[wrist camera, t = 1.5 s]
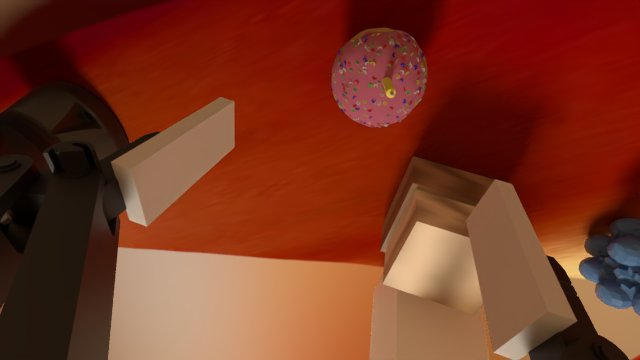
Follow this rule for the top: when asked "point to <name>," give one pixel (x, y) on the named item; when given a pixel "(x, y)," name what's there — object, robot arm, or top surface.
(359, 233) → the top surface
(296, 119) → the top surface
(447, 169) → the block bottom
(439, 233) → the block top
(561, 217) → the top surface
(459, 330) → the milk
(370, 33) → the cupcake
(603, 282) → the grapes
